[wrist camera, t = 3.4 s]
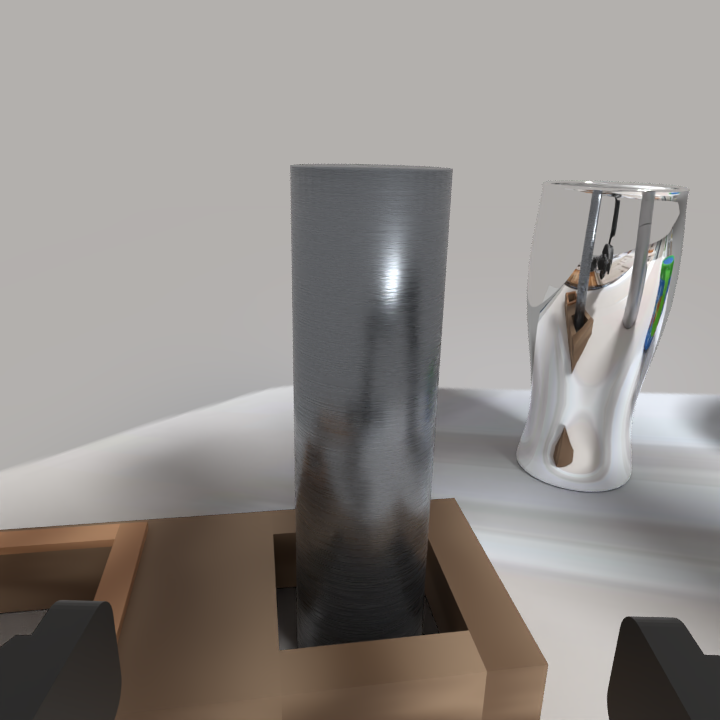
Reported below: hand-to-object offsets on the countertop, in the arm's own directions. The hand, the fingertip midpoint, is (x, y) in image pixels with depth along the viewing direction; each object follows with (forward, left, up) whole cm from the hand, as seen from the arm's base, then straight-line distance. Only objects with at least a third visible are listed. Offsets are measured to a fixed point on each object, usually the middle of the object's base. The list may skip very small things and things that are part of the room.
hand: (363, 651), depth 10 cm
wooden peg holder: (+4, -10, -9) cm, 14 cm away
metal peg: (-2, -10, -9) cm, 13 cm away
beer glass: (-15, -21, -9) cm, 28 cm away
